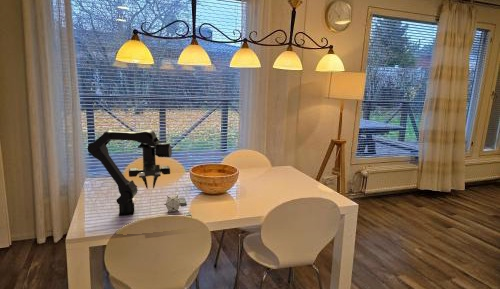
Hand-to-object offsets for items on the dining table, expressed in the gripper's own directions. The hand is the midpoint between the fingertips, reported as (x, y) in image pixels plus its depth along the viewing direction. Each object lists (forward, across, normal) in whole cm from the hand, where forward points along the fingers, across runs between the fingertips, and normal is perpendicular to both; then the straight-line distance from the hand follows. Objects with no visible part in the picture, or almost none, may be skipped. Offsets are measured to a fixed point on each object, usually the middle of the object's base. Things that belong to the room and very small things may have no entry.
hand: (150, 188), depth 161 cm
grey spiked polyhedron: (+13, +10, 0) cm, 17 cm away
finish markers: (+13, +16, +2) cm, 21 cm away
